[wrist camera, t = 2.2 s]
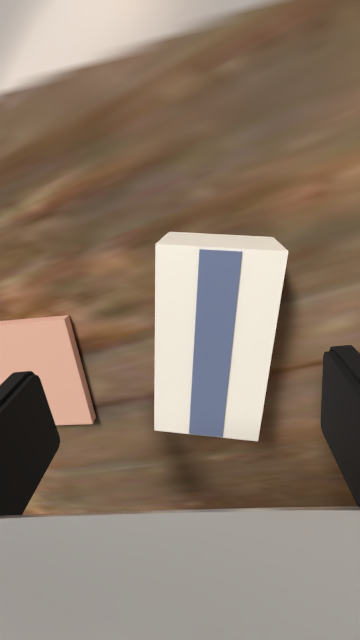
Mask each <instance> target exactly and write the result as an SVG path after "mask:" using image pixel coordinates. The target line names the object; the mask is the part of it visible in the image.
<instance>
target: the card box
mask: <svg viewBox="0 0 360 640" xmlns="http://www.w3.org/2000/svg"><path fill="white" fill-rule="evenodd" d="M287 257H288V250H286V249H285V248H284V247H283V246H282V245H281V244H280V243H279V242H278V241H277V240H276V239H274V238H273V237H261V236H242V235H222V234H202V233H182V232H169V233H167V234H166V235H165V236H164V237H163V238H162V239H161V240H160V241H158V242H157V243H156V263H155V401H154V430H155V431H164V432H174V433H183V434H193V435H203V436H212V437H222V438H231V439H241V440H250V441H258V438H259V432H260V426H261V419H262V413H263V407H264V401H265V394H266V388H267V382H268V376H269V369H270V363H271V357H272V351H273V344H274V338H275V332H276V326H277V319H278V313H279V307H280V301H281V294H282V288H283V282H284V275H285V269H286V263H287Z"/></svg>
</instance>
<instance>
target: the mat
mask: <svg viewBox="0 0 360 640" xmlns="http://www.w3.org/2000/svg"><path fill="white" fill-rule="evenodd" d="M24 371H32V372H33V373H34V374H35V375H38V376H39V378H40V380H41V383H42V386H43V389H44V392H45V395H46V398H47V401H48V404H49V407H50V410H51V413H52V416H53V419H54V422H55V425H75V424H93V422H94V420H95V419H96V416H95V412H94V408H93V404H92V401H91V397H90V393H89V389H88V386H87V382H86V378H85V374H84V371H83V367H82V363H81V359H80V356H79V352H78V348H77V344H76V340H75V337H74V333H73V329H72V325H71V322H70V318H69V315H66V316H55V317H43V318H31V319H19V320H8V321H0V385H1V384H2V383H3V382H4V381H5V380H6V379H7V378H8V377H9V376H10V375H11V374H12V373H14V372H24Z"/></svg>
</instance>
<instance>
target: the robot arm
mask: <svg viewBox="0 0 360 640" xmlns="http://www.w3.org/2000/svg"><path fill="white" fill-rule="evenodd" d="M321 428H322V432H323V435H324V437H325V439H326V441H327V443H328V445H329V447H330V449H331V451H332V453H333V455H334V457H335V460H336V462H337V464H338V466H339V468H340V470H341V472H342V474H343V476H344V478H345V480H346V482H347V484H348V487H349V489H350V491H351V493H352V495H353V497H354V499H355V501H356V503H357V505H358V507H347V506H333V507H278V508H237V509H196V510H160V511H126V512H95V513H64V514H37V515H22V514H23V512H24V510H25V508H26V506H27V504H28V503H29V501H30V499H31V497H32V495H33V494H34V492H35V490H36V488H37V486H38V484H39V483H40V481H41V479H42V477H43V475H44V474H45V472H46V470H47V468H48V466H49V464H50V463H51V461H52V459H53V457H54V455H55V453H56V452H57V450H58V448H59V444H60V437H59V434H58V431H57V428H56V425H55V422H54V419H53V416H52V413H51V410H50V407H49V404H48V401H47V398H46V395H45V392H44V389H43V386H42V383H41V380H40V378H39V376H38V375H35V374H34V373H33V372H32V371H24V372H14V373H12V374H11V375H10V376H9V377H8V378H7V379H6V380H5V381H4V382H3V383H2V384H1V385H0V640H360V354H359V353H358V351H357V350H356V349H355V348H354V347H353V346H352V345H346V346H334V347H331V348H330V350H329V352H325V353H324V356H323V379H322V404H321Z"/></svg>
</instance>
